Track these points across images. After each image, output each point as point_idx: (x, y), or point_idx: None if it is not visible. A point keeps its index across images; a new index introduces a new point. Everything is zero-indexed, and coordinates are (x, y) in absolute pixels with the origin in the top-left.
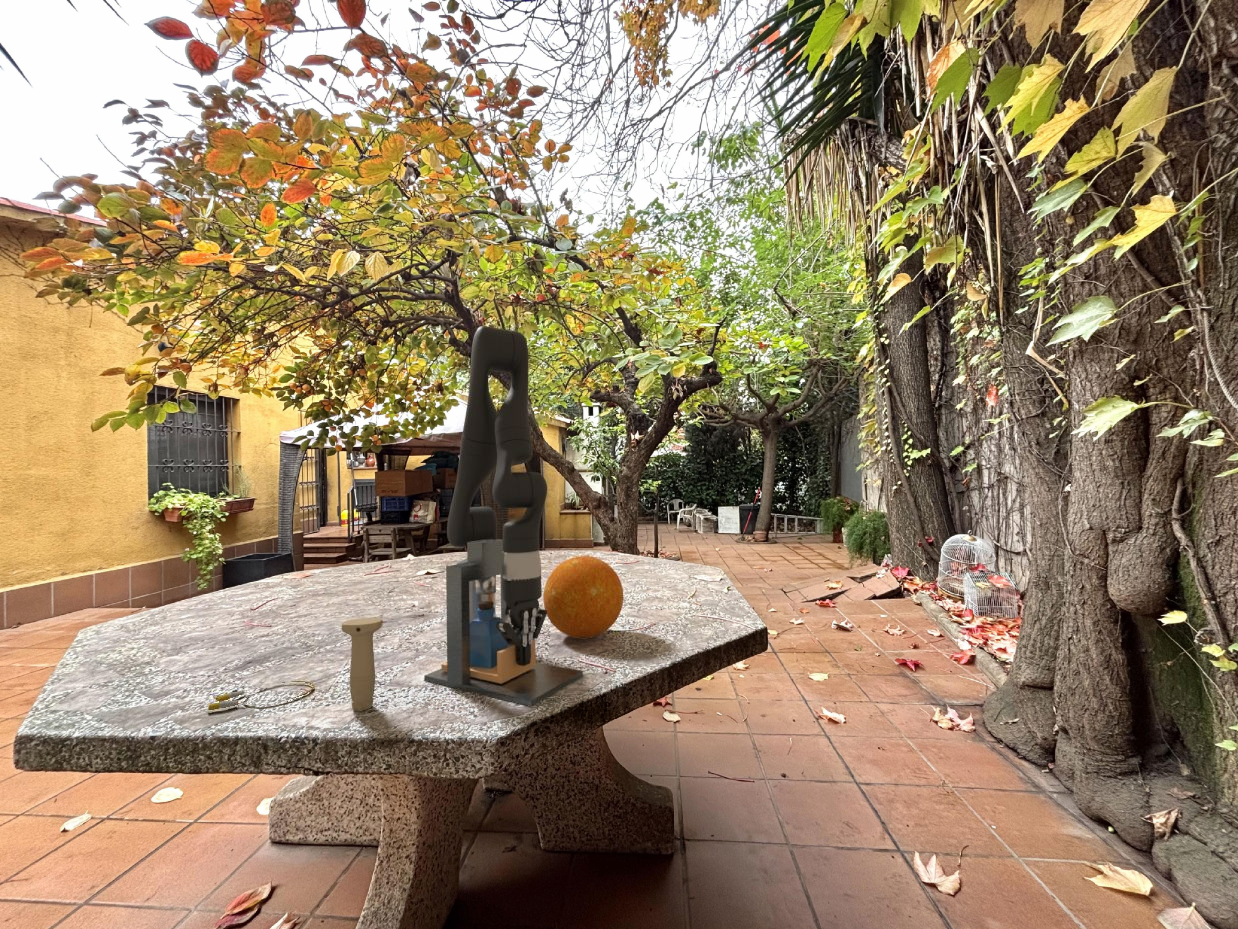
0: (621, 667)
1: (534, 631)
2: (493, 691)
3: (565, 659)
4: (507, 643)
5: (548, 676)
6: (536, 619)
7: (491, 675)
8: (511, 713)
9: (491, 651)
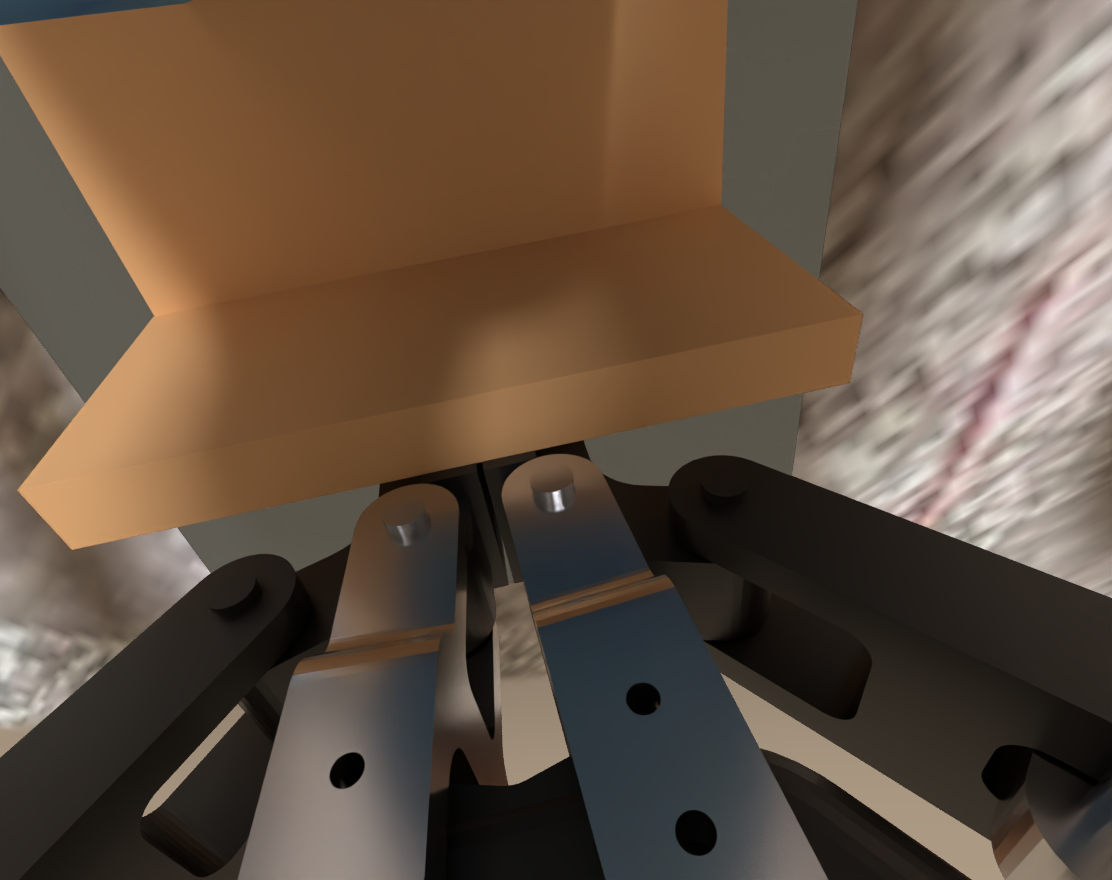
0: (966, 535)
1: (726, 665)
2: (79, 390)
3: (1085, 150)
4: (198, 584)
5: (599, 448)
6: (983, 767)
7: (105, 228)
8: (122, 611)
9: (103, 8)
